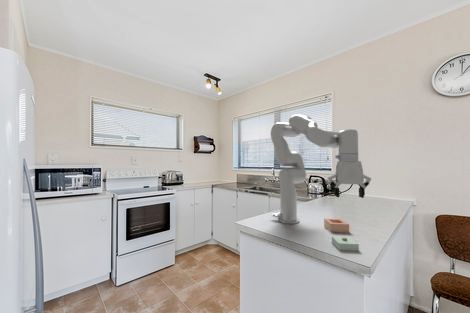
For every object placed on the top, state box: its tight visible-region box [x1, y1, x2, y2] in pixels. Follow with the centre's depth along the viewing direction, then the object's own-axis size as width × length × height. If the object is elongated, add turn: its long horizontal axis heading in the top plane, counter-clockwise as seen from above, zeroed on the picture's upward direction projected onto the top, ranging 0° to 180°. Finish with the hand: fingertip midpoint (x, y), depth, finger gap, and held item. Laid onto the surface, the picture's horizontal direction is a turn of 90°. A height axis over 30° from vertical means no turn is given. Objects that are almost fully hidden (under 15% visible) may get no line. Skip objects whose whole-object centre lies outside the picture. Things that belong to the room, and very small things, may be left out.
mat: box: [330, 241, 351, 252], centre depth 83 cm, size 8×8×1 cm
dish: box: [323, 218, 350, 234], centre depth 104 cm, size 9×9×4 cm
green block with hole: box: [331, 235, 360, 252], centre depth 83 cm, size 8×8×3 cm
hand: (349, 197), depth 87 cm, fingers open, 9 cm apart
